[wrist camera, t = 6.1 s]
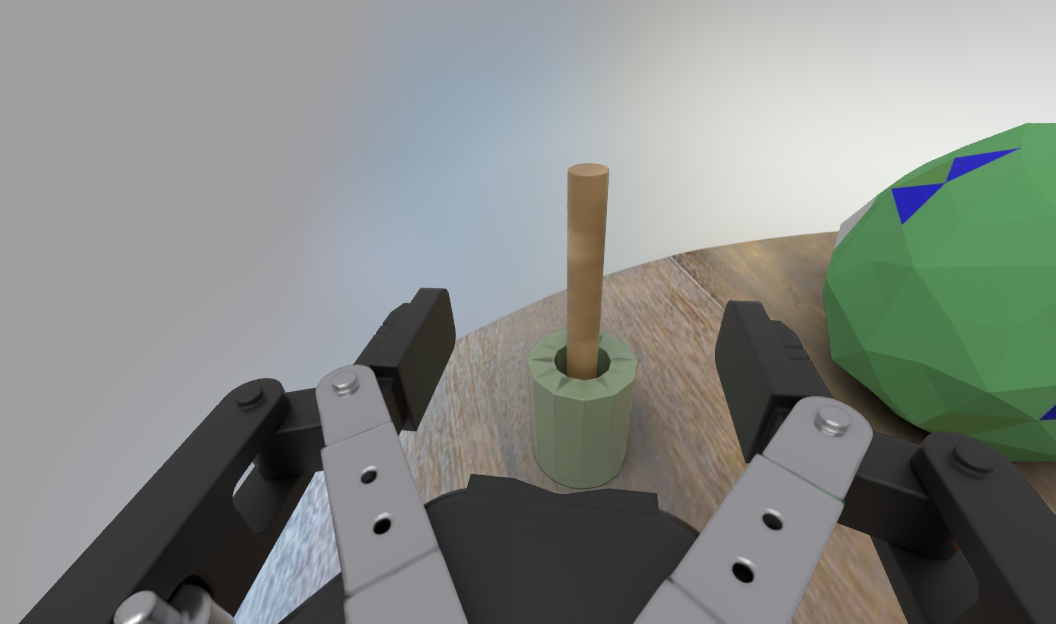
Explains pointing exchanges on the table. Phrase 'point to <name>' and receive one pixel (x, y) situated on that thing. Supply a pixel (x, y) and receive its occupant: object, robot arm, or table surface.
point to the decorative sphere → (958, 294)
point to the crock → (581, 411)
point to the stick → (585, 266)
